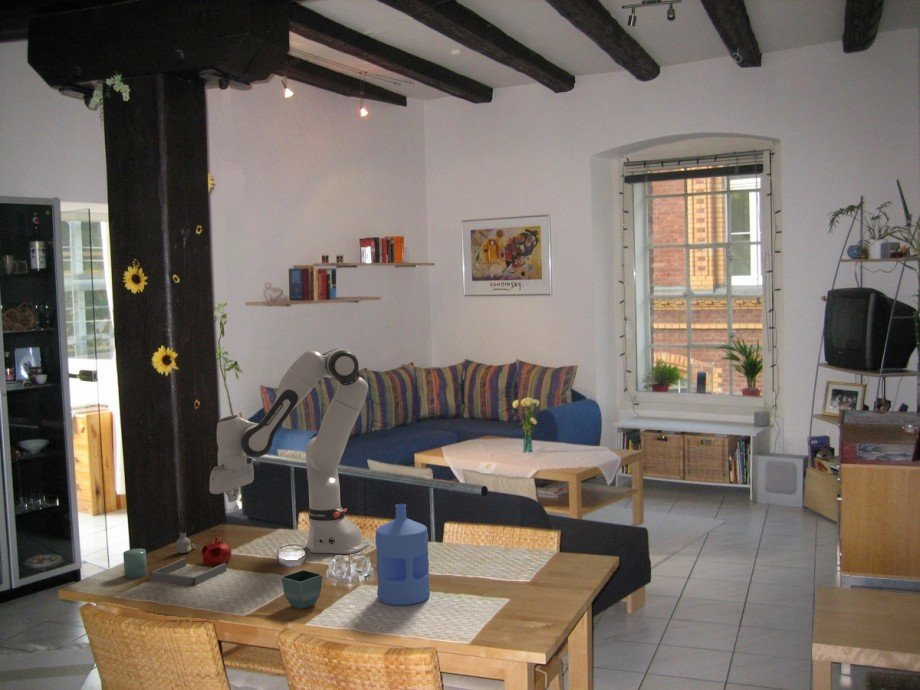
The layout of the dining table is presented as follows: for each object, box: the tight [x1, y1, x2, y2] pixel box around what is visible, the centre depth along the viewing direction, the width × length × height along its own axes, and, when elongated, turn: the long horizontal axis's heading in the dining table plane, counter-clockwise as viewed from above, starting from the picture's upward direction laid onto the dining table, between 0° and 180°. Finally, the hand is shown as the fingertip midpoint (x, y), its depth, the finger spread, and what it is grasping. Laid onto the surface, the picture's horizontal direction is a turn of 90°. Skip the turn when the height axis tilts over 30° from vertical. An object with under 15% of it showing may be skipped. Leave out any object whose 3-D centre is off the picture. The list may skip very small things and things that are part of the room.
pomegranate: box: [200, 535, 232, 567], centre depth 311 cm, size 10×10×9 cm
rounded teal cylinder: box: [122, 548, 148, 580], centre depth 300 cm, size 7×7×8 cm
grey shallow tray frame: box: [149, 557, 228, 587], centre depth 299 cm, size 18×16×2 cm
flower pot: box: [281, 569, 323, 610], centre depth 267 cm, size 9×9×9 cm
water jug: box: [375, 503, 431, 607], centre depth 271 cm, size 16×16×28 cm
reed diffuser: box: [171, 496, 197, 554], centre depth 324 cm, size 10×7×20 cm
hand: (232, 501), depth 319 cm, fingers closed
